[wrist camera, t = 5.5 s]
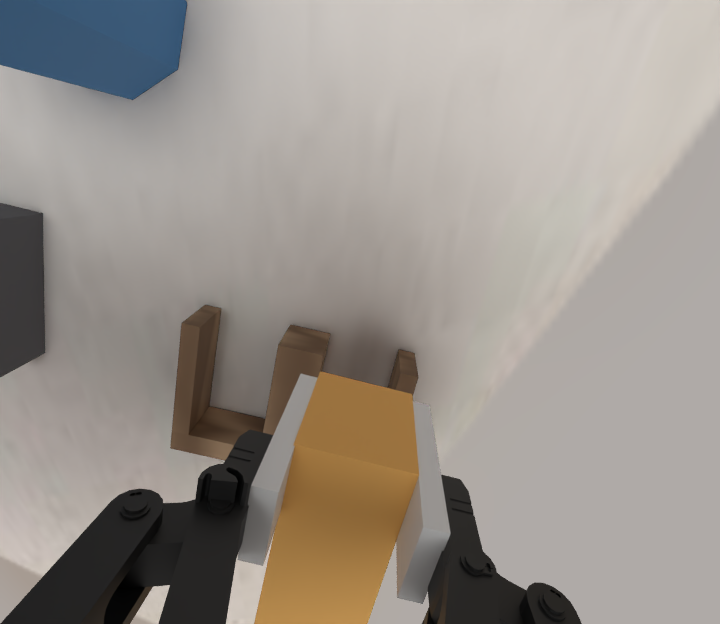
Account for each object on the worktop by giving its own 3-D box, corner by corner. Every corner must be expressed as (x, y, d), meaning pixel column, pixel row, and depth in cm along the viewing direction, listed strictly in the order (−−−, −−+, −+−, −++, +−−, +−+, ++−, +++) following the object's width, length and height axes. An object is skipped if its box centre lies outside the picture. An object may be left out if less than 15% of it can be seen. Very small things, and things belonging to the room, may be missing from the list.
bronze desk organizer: (192, 418, 34) (170, 448, 31) (205, 304, 31) (181, 322, 27) (382, 461, 35) (382, 495, 31) (414, 353, 31) (418, 377, 28)
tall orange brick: (276, 560, 21) (243, 671, 17) (320, 371, 18) (293, 443, 13) (353, 579, 21) (342, 695, 17) (412, 393, 18) (419, 474, 13)
